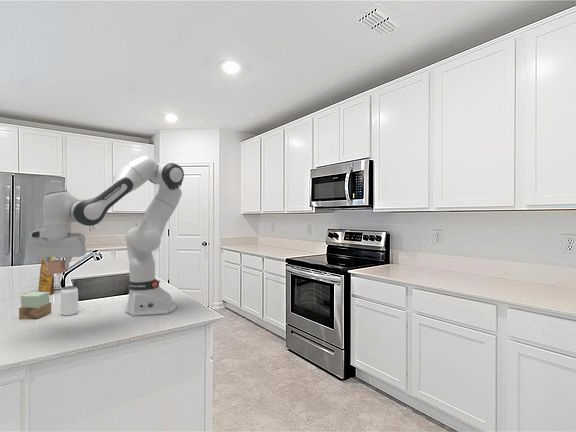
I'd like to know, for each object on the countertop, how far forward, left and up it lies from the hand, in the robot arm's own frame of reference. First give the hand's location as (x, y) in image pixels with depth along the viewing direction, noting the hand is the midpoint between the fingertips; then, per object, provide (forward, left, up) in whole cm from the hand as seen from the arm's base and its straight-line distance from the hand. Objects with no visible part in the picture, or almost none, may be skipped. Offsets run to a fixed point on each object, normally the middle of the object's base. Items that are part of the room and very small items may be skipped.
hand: (57, 268), depth 128 cm
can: (+8, -20, -25) cm, 33 cm away
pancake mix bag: (+43, -57, -25) cm, 76 cm away
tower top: (+21, -17, -20) cm, 34 cm away
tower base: (+21, -17, -25) cm, 37 cm away
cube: (0, 0, -2) cm, 2 cm away
